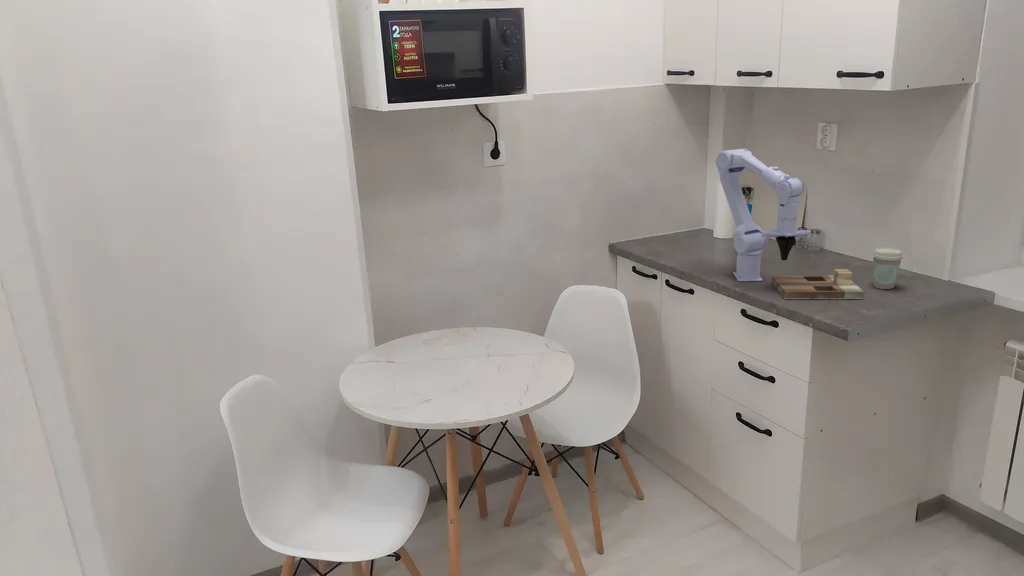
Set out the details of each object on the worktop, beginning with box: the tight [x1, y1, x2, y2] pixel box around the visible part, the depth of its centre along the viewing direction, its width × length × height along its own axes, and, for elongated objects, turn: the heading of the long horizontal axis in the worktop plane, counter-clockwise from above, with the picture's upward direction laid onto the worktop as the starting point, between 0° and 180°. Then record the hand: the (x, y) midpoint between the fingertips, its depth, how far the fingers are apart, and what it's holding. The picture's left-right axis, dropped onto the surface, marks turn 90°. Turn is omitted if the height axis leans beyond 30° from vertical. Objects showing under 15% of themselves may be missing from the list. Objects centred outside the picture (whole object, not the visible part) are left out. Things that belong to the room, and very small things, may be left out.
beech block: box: [833, 268, 853, 285], centre depth 223 cm, size 4×4×4 cm
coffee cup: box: [872, 247, 904, 290], centre depth 225 cm, size 9×8×12 cm
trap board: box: [771, 275, 865, 300], centre depth 225 cm, size 17×23×2 cm
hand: (783, 259), depth 225 cm, fingers closed
